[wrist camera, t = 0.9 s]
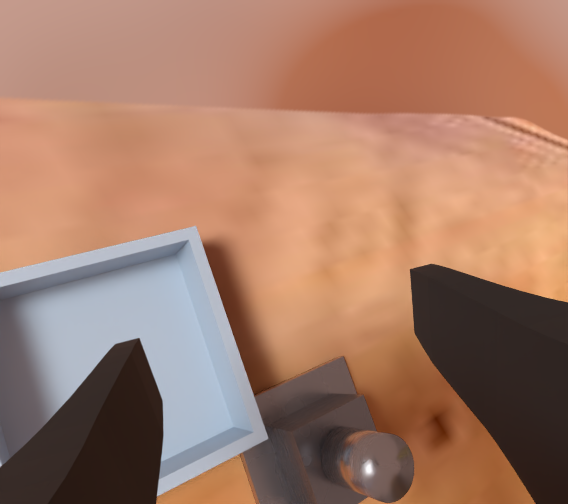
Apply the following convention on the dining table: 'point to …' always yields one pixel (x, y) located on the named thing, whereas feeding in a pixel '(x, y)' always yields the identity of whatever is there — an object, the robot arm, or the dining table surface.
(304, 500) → the knob
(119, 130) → the dining table surface
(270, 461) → the stud plate
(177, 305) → the bin
